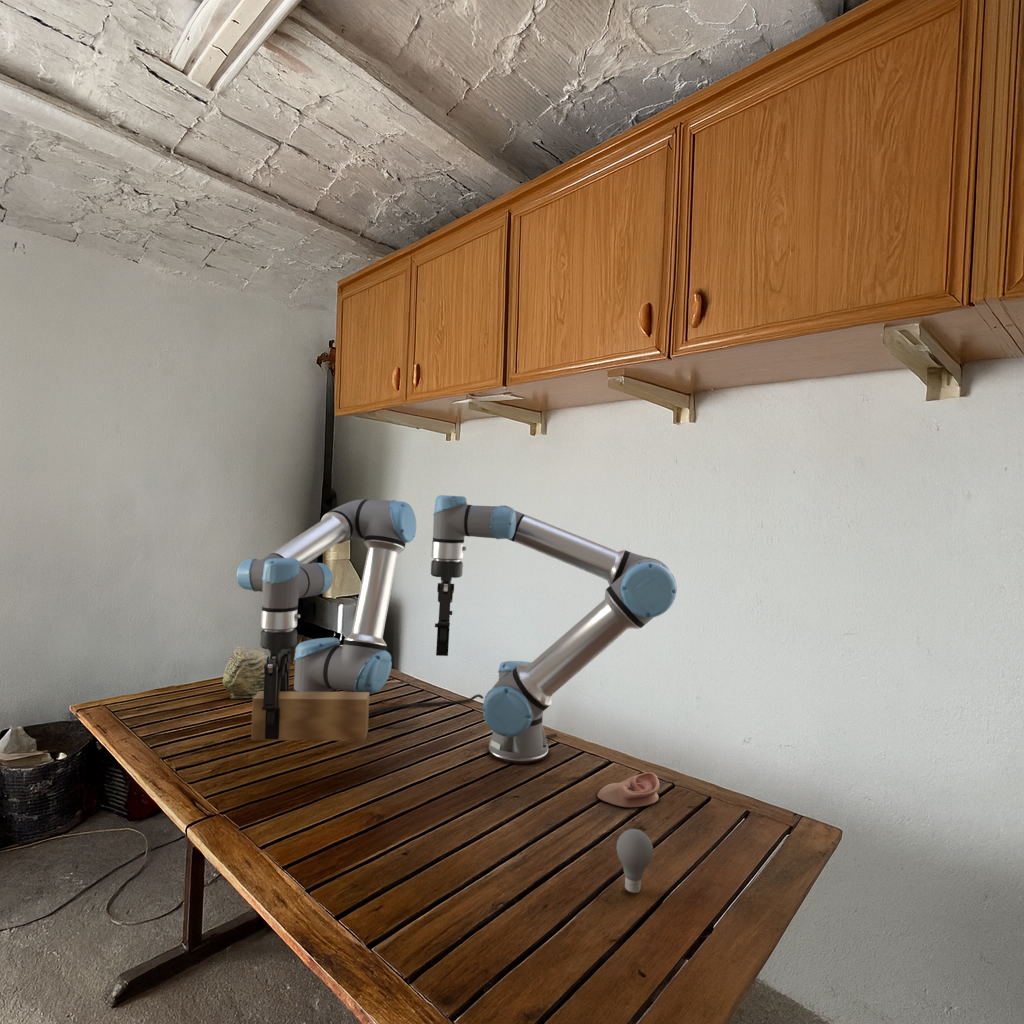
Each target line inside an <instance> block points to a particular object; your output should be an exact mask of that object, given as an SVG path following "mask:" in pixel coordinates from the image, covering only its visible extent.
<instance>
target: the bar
mask: <svg viewBox="0 0 1024 1024" xmlns="http://www.w3.org/2000/svg"><path fill="white" fill-rule="evenodd" d="M263 700H264V691H259V692H258V693H257V694H256V695H255V697H252V707H251V732H250V733H251V735H250V736H251V737H250V740H251V741H348V742H349V741H351V742H352V741H355V742H356V741H358V742H359V741H360V742H361V741H366V738H367V735H368V733H369V717H370V716H369V715H370V714H369V711H370V694H369V692H350V691H337V692H300V691H294V690H293V691H292V690H291V691H290V690H289V691H280V695H279V705H278V706H279V708H280V716H279V738H278V739H265V722H266V710H262V707H263Z"/></svg>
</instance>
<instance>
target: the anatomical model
mask: <svg viewBox="0 0 1024 1024" xmlns="http://www.w3.org/2000/svg"><path fill="white" fill-rule="evenodd" d="M659 789H660V781H659V777H658V776H657V774H655V773H654V772H651V771H647V772H642V773H639V774H636V775H633V776H631V777H629V778H627V779H625V780H622V781H621V782H612V783H609V784H606V785H604V786H602V788H600V790H599V791H598V793H597V794H596V795H597V798H598V799H599V800H601V801H603V802H606V803H608V804H611V805H614V806H618V807H621V808H622V807H623V808H638V807H646V806H649V805H653V804H655V803H656V802H658V800H659V795H658V791H659Z"/></svg>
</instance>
